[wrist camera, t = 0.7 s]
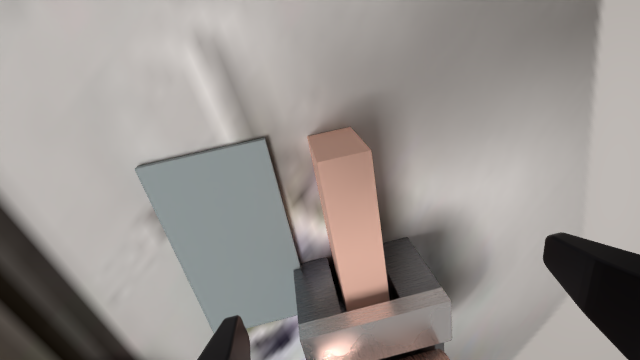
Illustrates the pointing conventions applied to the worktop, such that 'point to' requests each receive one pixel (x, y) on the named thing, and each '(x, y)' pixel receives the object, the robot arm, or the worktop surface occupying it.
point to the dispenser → (375, 313)
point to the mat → (228, 230)
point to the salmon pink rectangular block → (351, 215)
